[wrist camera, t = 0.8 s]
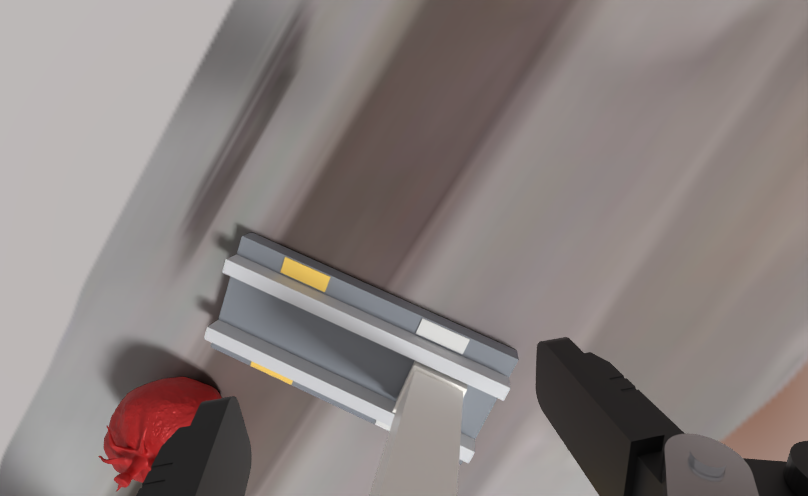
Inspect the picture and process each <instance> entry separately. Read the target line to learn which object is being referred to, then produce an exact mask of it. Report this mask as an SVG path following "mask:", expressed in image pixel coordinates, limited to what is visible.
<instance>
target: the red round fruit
mask: <svg viewBox="0 0 808 496" xmlns="http://www.w3.org/2000/svg"><path fill="white" fill-rule="evenodd" d="M220 398H222V397H221V395H220V394H219V392H218V391H217V390H216V389H215V388H214V387H212V386H209V385H207V384H203V383H201V382H199V381H197V380H194V379H190V378H187V377H175V378H165V379H161V380H157V381H154V382H150V383H148V384H145V385H143V386H141V387H138V388H136V389H134V390H133V391H131V392H129V393H128V394H127V395H126V396H125V398H124V399H123V400H122V401H121V402H120V404H119V405H118V407H117V408H116V410H115V412H114V414H113V415H112V417H111V420H110V424H109V427H108V426H107V428H108V432H107V434H106V436H105V438H104V450H105V453H106V455H107V456H108V458H109V459H108V460H107V459H104V458H103V457H102V456H99V457H100V458H101V459H102V461H103V462H105V463H107V464H112V465H113V467H114V469H115V470H116V471H117V472H119V473H121V474H119V475H117V476H116V477H115V478H114V480H115V482H117V483H118V484H119V485H118V489H117V490H116V491H118V490H119V489H120V488H121V487H127V486H129V484H130V482H131V480H132V479H134V480H136V481H139V482H144V480H145V478H146V476H147V474H148V472H149V471H151V466H152V464H153V462H154V460H155V458H156V456H157V454H158V452H159V450H160V448H161V446H162V445H163V444H164V443H165V442H166V441H167V440H168V439H169V438H170V437H171V436H172V435H173V434H174V433H175V432H176V431H177V429H178V428H180V427H186V426H190V425H191V422H192V420H193V418H194V416H195V414H196V411H197V409H198V407H199V405H200V404H201V403H202V402H204V401H209V400H215V399H220Z"/></svg>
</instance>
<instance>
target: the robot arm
mask: <svg viewBox="0 0 808 496" xmlns="http://www.w3.org/2000/svg"><path fill="white" fill-rule="evenodd" d="M536 394H537V398H538V402H539V404H540V407H541V409H542V411H543V412H544V414H545V415H546V417H547V418H548V420H549V421H550V423H551V424H552V426H553V427H554V429H555V430H556V432H557V433H558V435H559V436H560V438H561V439H562V441H563V442H564V444H565V445H566V447H567V448H568V450H569V451H570V453H571V454H572V455H573V457H574V458H575V460H576V461H577V463H578V464H579V466H580V467H581V469H582V470H583V472H584V473H585V475H586V476H587V478H588V479H589V481H590V482H591V484H592V485H593V487H594V488H595V490H596V491H597V493H598V494H599V496H808V441H803V442H799V443H796V444H795V445H794V446H793V447H792V448H791V450H790V454H789V457H788V460H787V462H782V461H768V460H757V459H756V460H755V459H743V458H742V457H741V456H740V455H739V454H737V453H736V452H735V451H733V450H732V449H731V448H729V447H728V446H726V445H724V444H722V443H720V442H718V441H716V440H714V439H711V438H708V437H705V436H701V435H696V434H685V433H684V432H683V431H681V430H680V429H679V428H678V427H677V426H676V425H675V424H674V423H673V422H672V421H671V420H670V419H669V418H668V417H667V416H666V415H665V414H664V413H662V412H661V411H660V410H659V409H658V408H657V407H656V406H655V405H654V404H653V403H652V402H651V401H650V400H649V399H648V398H647V397H646V396H644V395H643V394H642V393H641V392H640V391H639V390H636V388H635V386H634V385H633V384H632V383H631V382H630V381H629V380H628V379H627V378H624V376H623V375H622V374H621V373H620V372H619V371H618V370H617V369H616V368H615V367H614V366H613V365H612V364H611V363H610V362H608V361H606V360H604V359H602V358H600V357H598V356H596V355H595V354H593V353H591V352H589V353H583V352H582V351H581V350H580V349H579V348H578V347H577V346H576V345H575V344H574V343H573V342H572V341H571V340H570V339H569V338H567V337H564V338H558V339H552V340H547V341H541V342H539V343H538V345H537V359H536ZM250 469H251V445H250V441H249V437H248V434H247V430H246V427H245V424H244V420H243V417H242V413H241V410H240V406H239V403H238V400H237V399H236V397H234V396H232V397H226V398H220V399H215V400H209V401H204V402H202V403H201V404H200V405H199V407H198V409H197V411H196V414H195V416H194V418H193V420H192V422H191V425H190V426H186V427H180V428H178V429H177V431H176V432H175V433H174V434H173V435H172V436H171V437H170V438H169V439H168V440H167V441H166V442H165V443H164V444H163V445H162V446H161V448H160V450H159V452H158V454H157V456H156V458H155V460H154V462H153V464H152V466H151V471H149V472H148V474H147V476H146V478H145V480H144V482H143V484H142V485H143V486H142V488H140V489H139V491H138V493H137V495H136V496H244V495H245V491H246V487H247V482H248V478H249V474H250Z"/></svg>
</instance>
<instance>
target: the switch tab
mask: <svg viewBox="0 0 808 496" xmlns="http://www.w3.org/2000/svg"><path fill="white" fill-rule="evenodd" d="M467 387H468V384H466V383H463V382H461V381H459V380H457V379H455V378H452V377H450V376H448V375H446V374H444V373H442V372H439V371H437V370H435V369H433V368H431V367H428V366H426V365H424V364H422V363H420V362H417V361H414V363H413V365H412V367H411V370H410V372H409V374H408V376H407V378H406V380H405V383H404V385H403V387H402V389H401V391H400V393H399V396H398V398H397V400H396V403H395V406H394V409H393V412H394V413H395V415H394V418H393V422H392V425H391V428H390V431H389V434H388V438H387V441H386V444H385V447H384V450H383V454H382V457H381V460H380V463H379V466H378V469H377V473H376V476H375V479H374V482H373V485H372V489H371V492H370V495H369V496H457V489H458V472H459V455H460V438H461V422H462V405H463V397H464V395H465V393H466V391H467Z"/></svg>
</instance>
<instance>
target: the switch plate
mask: <svg viewBox="0 0 808 496" xmlns="http://www.w3.org/2000/svg"><path fill="white" fill-rule="evenodd" d="M222 273H225V274H227V275H229V276H230V280H229V283H228V287H227V291H226V294H225V298H224V301H223V305H222V308H221V312H220V315H219V319H218V320H217V321H215V322H214V323H212V324H211V325H209V326H208V327H207V330H206V333H205V337H204V339H206V340H208V341H210V342H212V344H211V347H212V348H214V349H216V350H218V351H220V352H222V353H224V354H226V355H229V356H231V357H233V358H235V359H237V360H239V361H241V362H243V363H246V364H248V365H250V366H252V367H254V368H256V369H258V370H260V371H262V372H265V373H267V374H269V375H271V376H273V377H275V378H277V379H279V380H282V381H284V382H286V383H288V384H290V385H292V386H294V387H296V388H298V389H301V390H303V391H305V392H307V393H309V394H311V395H313V396H315V397H318V398H320V399H322V400H324V401H326V402H328V403H330V404H332V405H335V406H337V407H339V408H341V409H343V410H345V411H347V412H349V413H351V414H354V415H356V416H358V417H360V418H362V419H364V420H366V421H368V422H371V423H373V424H375V425H377V426H379V427H381V428H383V429H385V430H387V431H390V428H391V425H392V422H393V418H394V415H395V413H394V412H393V409H394V406H395V403H396V400H397V398H398V396H399V393H400V391H401V389H402V387H403V385H404V383H405V380H406V378H407V376H408V374H409V372H410V370H411V367H412V365H413V363H414V361H417V362H420V363H422V364H424V365H426V366H428V367H431V368H433V369H435V370H437V371H439V372H442V373H444V374H446V375H448V376H450V377H452V378H455V379H457V380H459V381H461V382H463V383H466V384H468V387H467V391H466V393H465V395H464V397H463V405H462V422H461V438H460V455H459V464H460V465H461V464H462V462H463V461H465V462H467V463H469V462H470V460H471V458H472V456H473V455H474V453H475V438H476V436H477V435H478V433H479V431H480V429H481V427H482V425H483V424H484V422H485V420H486V418H487V416H488V415H489V413H490V411H491V409H492V407H493V405H494V404H495V402H496V400H497V398H499V399H501V400H503V401H504V399H505V397H506V395H507V393H508V392H509V390H510V381H509V376H510V375H511V373H512V371H513V369H514V367H515V365H516V364H517V362H518V360H519V359H518V354H517V350H515V349H512V348H510V347H508V346H506V345H503V344H501V343H499V342H497V341H494V340H492V339H490V338H488V337H486V336H483V335H481V334H479V333H477V332H474V331H472V330H470V329H468V328H465V327H463V326H461V325H459V324H456V323H454V322H452V321H450V320H447V319H445V318H443V317H441V316H438V315H436V314H434V313H432V312H429V311H427V310H425V309H423V308H420V307H418V306H416V305H414V304H412V303H409V302H407V301H405V300H403V299H400V298H398V297H396V296H394V295H391V294H389V293H387V292H385V291H382V290H380V289H378V288H376V287H373V286H371V285H369V284H367V283H364V282H362V281H360V280H358V279H355V278H353V277H351V276H349V275H346V274H344V273H342V272H340V271H338V270H335V269H333V268H331V267H329V266H326V265H324V264H322V263H320V262H317V261H315V260H313V259H311V258H308V257H306V256H304V255H302V254H299V253H297V252H295V251H293V250H290V249H288V248H286V247H284V246H281V245H279V244H277V243H275V242H272V241H270V240H268V239H266V238H264V237H261V236H259V235H257V234H255V233H252V232H251V233H248V234H246V235H243V236H242V237H241V241H240V244H239V248H238V252H237V254H236V255H234V256H232V257H230V258H227V259H226V260H225V264H224V268H223V271H222Z"/></svg>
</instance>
